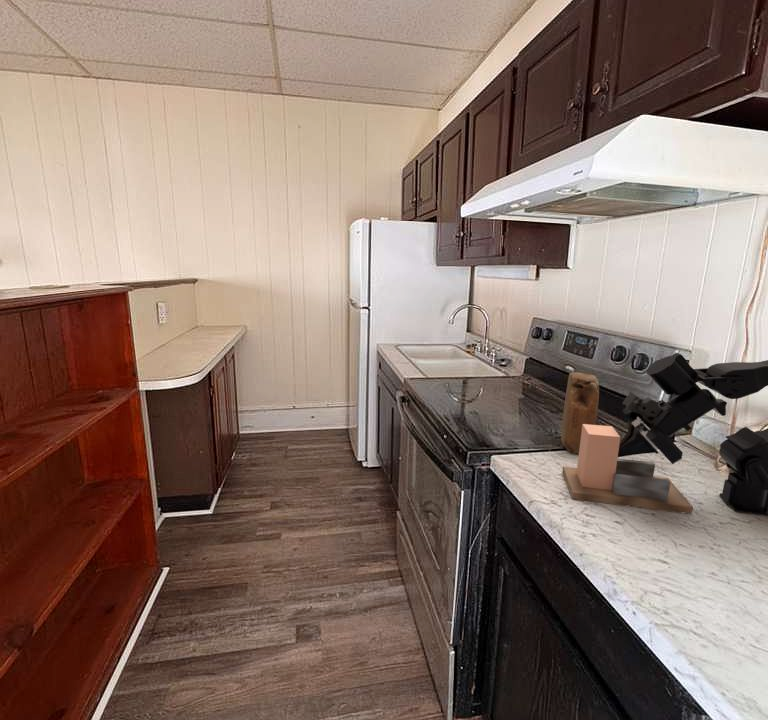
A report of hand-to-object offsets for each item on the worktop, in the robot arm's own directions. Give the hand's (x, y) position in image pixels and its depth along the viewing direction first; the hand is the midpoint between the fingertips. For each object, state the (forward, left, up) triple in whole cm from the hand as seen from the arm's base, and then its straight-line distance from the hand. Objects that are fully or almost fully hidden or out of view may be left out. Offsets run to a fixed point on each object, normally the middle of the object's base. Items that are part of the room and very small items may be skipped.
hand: (614, 455), depth 90 cm
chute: (-2, 0, -8) cm, 9 cm away
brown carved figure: (+3, -22, -8) cm, 24 cm away
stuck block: (+3, 0, -7) cm, 7 cm away
